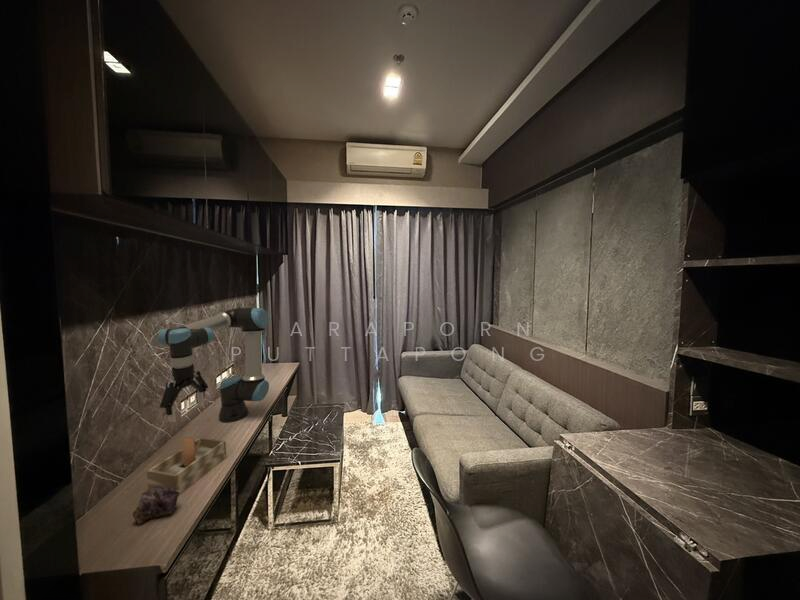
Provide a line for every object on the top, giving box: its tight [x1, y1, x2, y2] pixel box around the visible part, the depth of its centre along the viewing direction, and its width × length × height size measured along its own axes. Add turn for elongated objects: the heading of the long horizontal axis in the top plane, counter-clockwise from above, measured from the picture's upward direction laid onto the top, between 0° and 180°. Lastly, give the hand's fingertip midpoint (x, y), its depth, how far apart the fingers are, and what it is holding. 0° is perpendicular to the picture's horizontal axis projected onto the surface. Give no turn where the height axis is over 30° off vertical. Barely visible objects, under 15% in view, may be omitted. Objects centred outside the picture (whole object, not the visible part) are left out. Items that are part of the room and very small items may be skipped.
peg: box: [181, 436, 196, 468], centre depth 125 cm, size 4×4×15 cm
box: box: [146, 437, 227, 495], centre depth 126 cm, size 24×14×8 cm, turn 167°
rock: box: [132, 485, 180, 524], centre depth 105 cm, size 12×9×10 cm
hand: (187, 413), depth 127 cm, fingers open, 13 cm apart
